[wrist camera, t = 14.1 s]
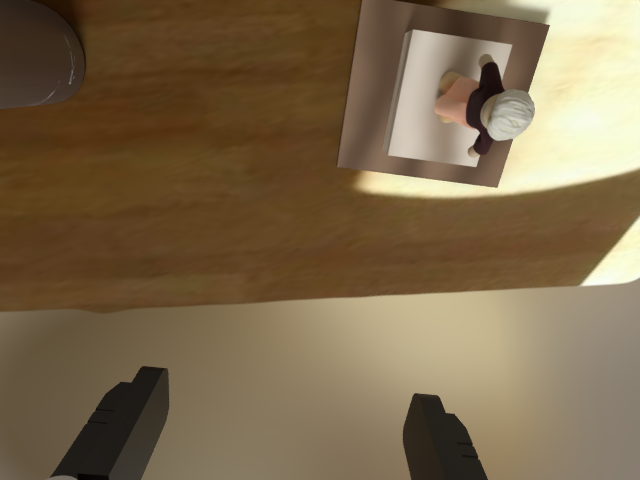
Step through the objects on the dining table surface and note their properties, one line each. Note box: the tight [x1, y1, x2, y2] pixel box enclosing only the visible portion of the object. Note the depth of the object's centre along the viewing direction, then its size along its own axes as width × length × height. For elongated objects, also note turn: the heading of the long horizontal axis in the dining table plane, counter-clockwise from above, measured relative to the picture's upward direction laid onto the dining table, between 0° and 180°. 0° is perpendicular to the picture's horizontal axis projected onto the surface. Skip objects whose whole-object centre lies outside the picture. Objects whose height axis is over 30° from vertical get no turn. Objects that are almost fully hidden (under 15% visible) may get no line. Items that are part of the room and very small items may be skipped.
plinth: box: [337, 0, 550, 188], centre depth 38 cm, size 18×16×5 cm
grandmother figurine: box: [435, 54, 535, 158], centre depth 30 cm, size 8×4×13 cm, turn 13°
